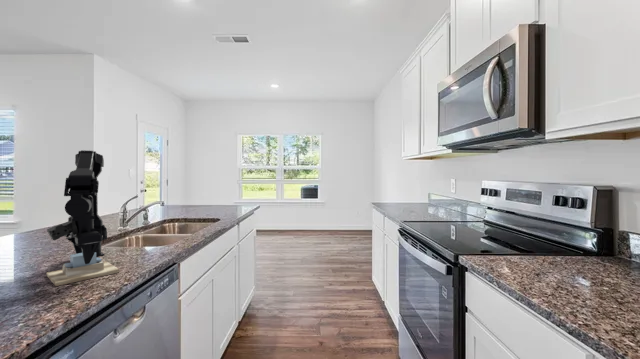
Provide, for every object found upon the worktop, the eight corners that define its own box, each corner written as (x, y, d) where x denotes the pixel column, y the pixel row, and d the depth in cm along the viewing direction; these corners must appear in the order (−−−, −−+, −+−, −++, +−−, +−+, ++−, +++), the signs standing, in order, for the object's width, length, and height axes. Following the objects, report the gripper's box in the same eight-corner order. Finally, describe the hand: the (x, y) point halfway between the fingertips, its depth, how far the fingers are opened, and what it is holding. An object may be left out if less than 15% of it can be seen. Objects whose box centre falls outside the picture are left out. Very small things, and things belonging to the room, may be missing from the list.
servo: (64, 272, 96) (64, 255, 96) (98, 266, 103) (98, 250, 103) (67, 275, 94) (66, 258, 93) (102, 268, 100) (101, 252, 100)
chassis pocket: (46, 275, 97) (46, 265, 96) (105, 263, 109) (105, 254, 109) (55, 286, 88) (55, 274, 87) (119, 272, 100) (119, 262, 100)
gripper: (43, 213, 97) (44, 261, 98) (55, 218, 86) (56, 273, 86) (86, 209, 106) (87, 253, 106) (102, 214, 94) (103, 264, 94)
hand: (83, 261), depth 98 cm, fingers open, 9 cm apart
